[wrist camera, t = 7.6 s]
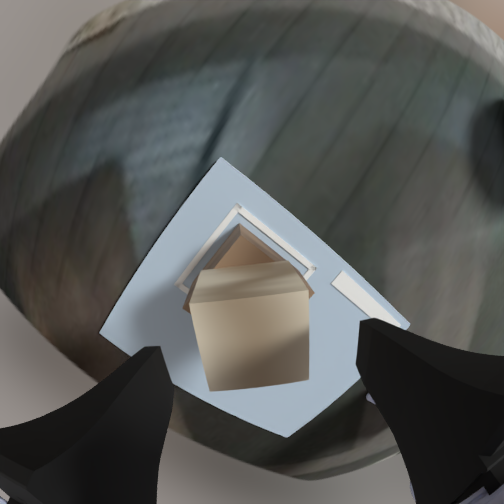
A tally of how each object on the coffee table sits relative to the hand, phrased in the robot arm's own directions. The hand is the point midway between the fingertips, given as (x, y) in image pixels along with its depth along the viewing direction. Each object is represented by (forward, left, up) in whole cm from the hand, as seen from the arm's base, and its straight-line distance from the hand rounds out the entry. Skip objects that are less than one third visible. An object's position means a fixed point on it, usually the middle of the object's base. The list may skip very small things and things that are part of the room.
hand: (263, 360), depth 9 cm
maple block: (0, 0, -5) cm, 5 cm away
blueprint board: (-4, +3, -10) cm, 11 cm away
